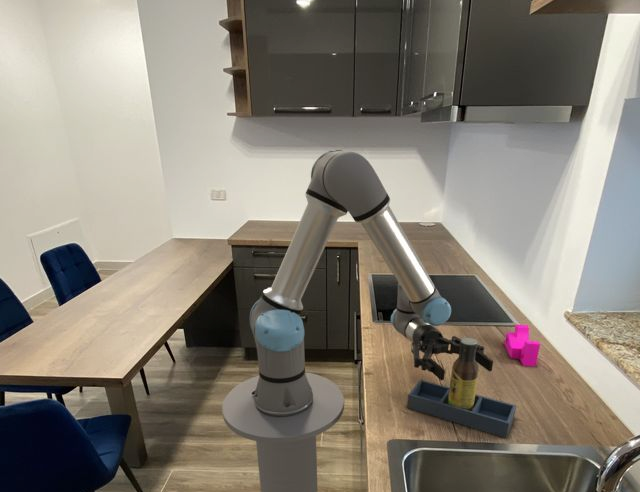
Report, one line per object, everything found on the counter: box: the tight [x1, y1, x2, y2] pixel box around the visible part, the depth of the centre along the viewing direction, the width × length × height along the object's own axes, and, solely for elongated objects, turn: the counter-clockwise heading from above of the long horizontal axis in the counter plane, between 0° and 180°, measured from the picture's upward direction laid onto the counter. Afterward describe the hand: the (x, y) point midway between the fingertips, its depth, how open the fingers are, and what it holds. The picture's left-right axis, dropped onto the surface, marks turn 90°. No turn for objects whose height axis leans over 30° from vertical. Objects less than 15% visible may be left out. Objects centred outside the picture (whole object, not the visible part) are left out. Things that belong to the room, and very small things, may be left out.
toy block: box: [503, 324, 541, 367], centre depth 142 cm, size 15×6×8 cm, turn 173°
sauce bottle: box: [448, 337, 480, 411], centre depth 109 cm, size 6×6×20 cm
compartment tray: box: [406, 379, 517, 439], centre depth 112 cm, size 25×9×4 cm, turn 60°
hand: (467, 370), depth 107 cm, fingers open, 13 cm apart
